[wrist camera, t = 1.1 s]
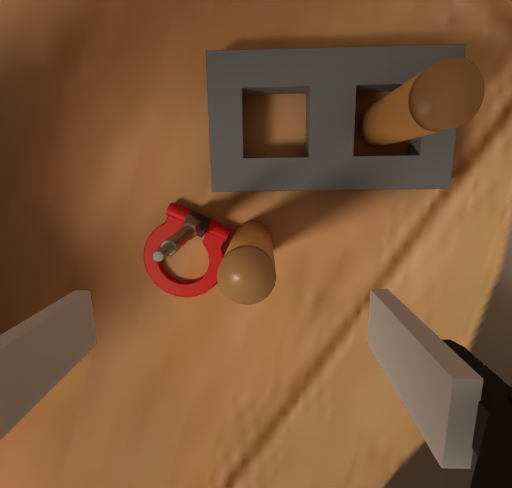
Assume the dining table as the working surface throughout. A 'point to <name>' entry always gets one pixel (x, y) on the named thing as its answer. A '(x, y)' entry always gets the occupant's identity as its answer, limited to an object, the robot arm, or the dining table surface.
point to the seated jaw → (425, 104)
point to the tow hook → (173, 238)
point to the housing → (321, 118)
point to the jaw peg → (248, 265)
